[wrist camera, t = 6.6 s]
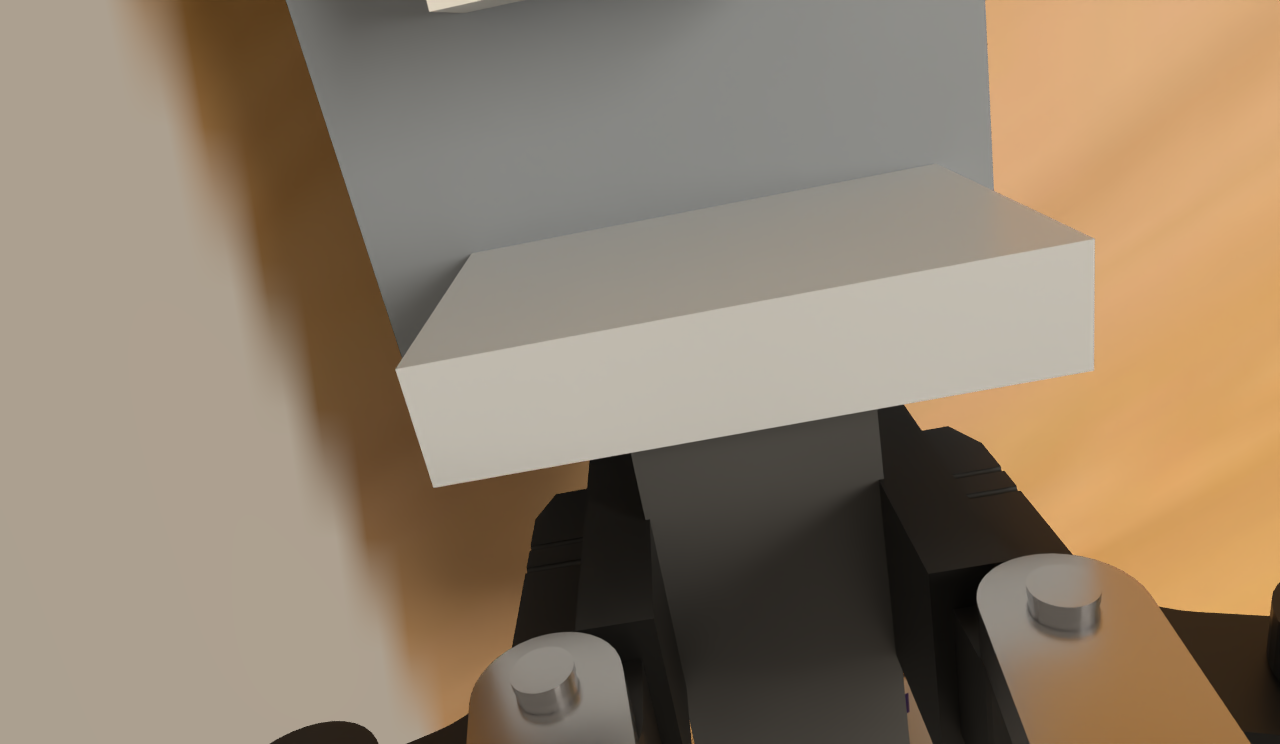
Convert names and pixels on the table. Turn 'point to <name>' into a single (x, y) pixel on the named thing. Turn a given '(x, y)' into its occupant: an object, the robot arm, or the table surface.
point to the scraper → (756, 407)
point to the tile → (464, 5)
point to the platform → (623, 114)
